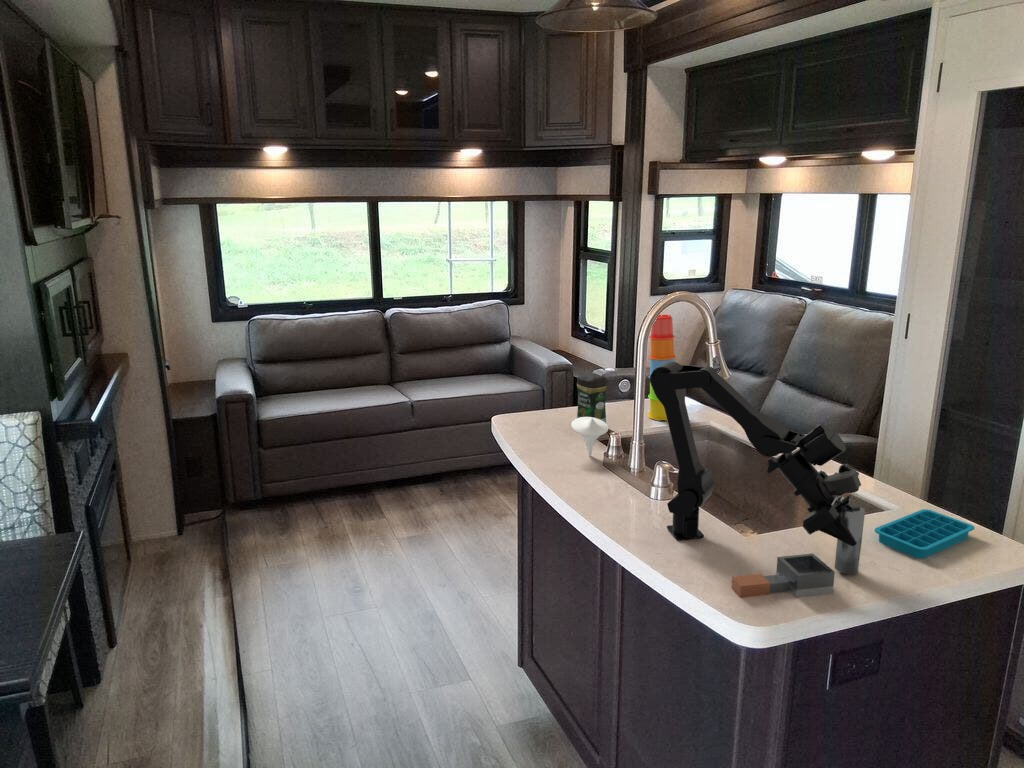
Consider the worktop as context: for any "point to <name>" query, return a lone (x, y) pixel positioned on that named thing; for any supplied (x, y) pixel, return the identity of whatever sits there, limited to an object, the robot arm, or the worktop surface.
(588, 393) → the coffee jar
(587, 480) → the worktop surface
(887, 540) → the ice cube tray
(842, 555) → the cylinder with cube top
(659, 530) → the worktop surface
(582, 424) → the white spinning top
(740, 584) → the saucepan
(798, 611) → the worktop surface
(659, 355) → the stacking cups
